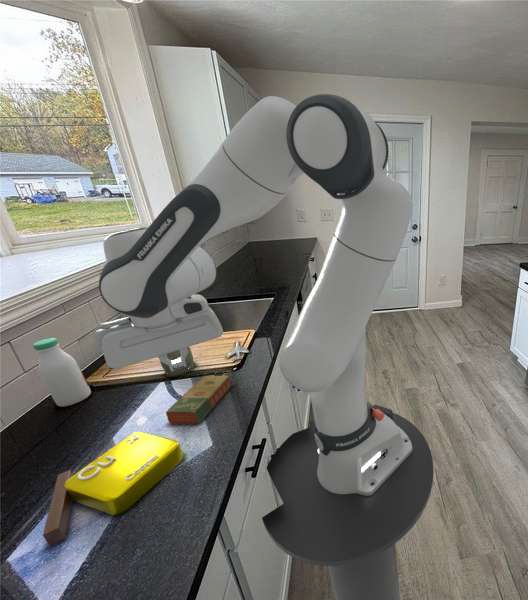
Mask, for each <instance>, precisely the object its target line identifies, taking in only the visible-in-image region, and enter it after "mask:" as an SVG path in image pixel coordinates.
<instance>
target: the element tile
mask: <svg viewBox="0 0 528 600" xmlns="http://www.w3.org/2000/svg"><path fill="white" fill-rule="evenodd" d="M183 459H184V452H183V450H182V447H181V445H180V443H179V441H178V440H175V439H171V438H168V437H163V436H159V435H155V434H153V433H152V434H150V433H148V432H143V431H136V432H133V433H131V434H129V435H128V436H126V437H125V438H123V439H122V440H121V441H120V442H117V444H115V445H114V446H112V447H111V448H109V449H108V450H106V451H105V452H104V453H102V454H100V455H99V456H98V457H97V458H95V459H94V460H92V461H91V462H89V463H88V464H86V465H85V466H83V468H82V469H80V470H79V471H77V472H76V473H73V474H74V475H73V476H72V477H70V478H69V479H68V480H67V481H66V483H65V484H64V486H65V488H66V490H67V492H68V493H69V495H70V496H71V498H72V500H73V501H72V502H75V503H79V504H81V505H84V506H86V507H89V508H92V509H94V510H98V511H100V512H103V513H105V514H109V515H112V516H117V515H120V514H122V513H124V512H126V511H127V510H129V509H130V508H131V507H133V506H134V505H135V504H136V503H137V502H138V501H139V500H140V499H141V498H143V496H144V495H146V493H148V492H149V491H151V489H152V488H153V487H155V486H156V485H157V484H158V483H159V481H161V480H163V478H165V476H167V475H168V474H169V473H170V472H171V471H172V470H173V469H174V468H175V467H176V466H177V465H179V464H180V463H181V462H182V460H183Z"/></svg>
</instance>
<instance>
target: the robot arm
mask: <svg viewBox="0 0 528 600" xmlns="http://www.w3.org/2000/svg"><path fill="white" fill-rule="evenodd" d="M388 160H389V143H388V140H387V136H386V134H385V132H384V130H383V128H381V126H380V125H379V124H378V123H377V122H376V121H375V119H374V118H373V117H372V116H371V115H370V114H369V113H368V112H367V111H366V110H364V109H362V108H361V107H360V106H358V105H356V104H354V103H352V102H351V101H350V100H348V99H347V98H345V97H342V96H340V95H336V94H332V93H331V94H330V93H319V94H318V93H317V94H315V95H311V96H308V97H306V98H304V99H303V100H302V101H301V102H299V103H298V104H297V105H296V104H295V103H293V102H291V101H289V100H288V99H285V98H283V97H280V96H276V95H269V96H266V97H263V98H261V99H260V100H259V101H257V102H256V104H254V105H253V106H252V107H251V108H250V109H249V110H248V111H247V112H246V113H245V114H244V115H243V116H242V117H241V118H240V119H239V120H238V122H236V123H235V126H234V127H233V128H232V129H231V130H230V131H229V133H228V134H227V136H226V137H225V139H224V140H223V142H222V143H221V144H220V146H219V147H218V149H217V150H216V151H215V153H214V154H213V155H212V156H211V158H210V159H209V161H208V162H207V163H206V165H205V166H204V167H203V168H202V169H201V171H200V172H199V173H198V174H197V175H196V176H195V177H194V178H193V179H192V180H191V181H190V182H189V183H188V184H187V185H186V186H185V187H184V188H182V189H181V190H180V192H179V193H178V194H177V195H176V196H174V197H173V198H172V200H170V201H169V202H168V203H167V205H166V206H165V207H164V208H163V209H162V210H161V212H160V213H159V214H158V215H157V217H155V219H154V220H153V221H152V223H150V225H149V226H148V227H135V228H130V229H127V230H124V231H123V230H122V231H118V232H117V231H116V232H115V233H112V234H109V235H107V236H106V237H105V238H104V239H103V251H104V257H105V260H106V263H105V264H104V266H103V267H102V270H101V272H100V275H99V281H98V289H99V293H100V296H101V298H102V299H103V301H104V302H105V303H106V304H107V306H109V308H111V309H113V310H114V311H116V312H118V313H121V314H123V315H126V316H127V317H126V316H125V317H123V318H119V319H116V320H113V321H107V322H103V323H100V324H99V326H97V327H96V328H94V329H93V331H92V335H91V337H92V338H93V340H94V343H95V344H96V345H97V346H99V347H102V352H103V353H102V354H103V356H104V360H105V363H106V365H107V367H108V368H110V369H112V370H120V369H123V368H126V367H129V366H133V365H137V364H139V363H142V362H145V361H149V360H151V359H154V358H158V360H159V362H160V361H161V362H163V363H165V364H166V365H169V367H170V370H171V372H172V371H175V370H177V369H180V368H183V367H186V366H187V365H186V362H185V359H186V356H187V353H188V351H187V347H189V348H190V347H192V346H196V345H199V344H202V343H203V344H204V343H205V342H209V341H213V340H215V339H219V338H220V337H221V338H222V335H224V330H223V327H222V324H221V321H220V320H219V318H218V316H217V315H216V313H215V312H214V310H213V309H212V308H211V307H210V306H209V304H208V300H207V298H205V296H203V295H202V294H198V293H200V292H202V291H204V290H206V289H207V288H209V287H210V286H212V285H213V284H214V283H215V282H216V279H217V275H218V274H217V273H218V271H217V265H216V262H215V260H214V259H213V257H212V255H211V254H210V253H209V251H207V250H206V249H205V248H204V247H202V246H201V245H203V244H204V243H205V242H207V241H208V240H210V239H211V238H213V237H215V236H217V235H219V234H221V233H223V232H226V231H228V230H231V229H233V228H236V227H239V226H242V225H245V224H248V223H251V222H253V221H256V220H259V219H260V218H262V217H263V216H265V215H266V214H267V213H269V212H270V211H271V210H272V209H273V208H274V207H276V206H277V205H278V204H279V203H280V202H281V201H282V199H283V198H284V197H285V196H286V195H287V193H288V192H289V191H290V190H291V188H292V187H293V186H294V185H295V183H296V182H297V181H298V180H299V178H301V177H302V176H303V175H304V174H305V175H306V176H307V177H308V178H309V179H310V180H312V181H313V182H315V183H316V184H317V185H319V186H320V187H321V188H322V189H323V190H324V191H326V193H327V194H328V195H330V196H331V197H332V198H333V199H335V200H341V211H340V215H339V218H338V221H337V222H336V223H337V224H336V226H335V228H334V232H333V234H332V238H331V240H330V243H329V246H328V249H327V252H326V254H325V257H324V261H323V264H322V266H321V269H320V272H319V274H318V276H317V278H316V281H315V283H314V285H313V287H312V288H311V290H310V292H309V294H308V297H307V299H306V301H305V302H304V305H303V307H302V309H301V310H300V313H299V315H298V316H297V320H296V322H295V324H294V326H293V328H292V331H291V333H290V335H289V337H288V339H287V341H286V343H285V345H284V347H283V349H282V351H281V353H280V356H279V362H278V365H279V370H280V372H281V374H282V376H283V378H284V379H285V380H286V381H287V383H289V384H290V386H292V387H294V388H295V389H297V390H300V391H302V392H306V393H309V398H310V404H311V407H312V413H313V420H314V431H315V439H316V443H317V446H318V448H319V449H318V453H319V463H318V468H317V477H318V480H319V482H320V484H321V485H322V486H323V487H324V488H325V489H326V490H328V491H330V492H332V493H336V494H352V493H358V494H361V495H365V496H370V495H372V494H373V493H374V492H375V491H376V490H377V489H378V488H379V487H380V486H381V485H382V484H383V483H384V482H385V481H386V479H387V478H388V477H389V476H390V475H391V474H392V473H393V472H394V471H395V470H396V469H397V468H398V467H399V465H400V464H401V463H402V462H403V461H404V460H405V459H406V458H407V457H408V456H409V455H410V454H411V452H412V451H413V449H412V444H411V441H410V439H409V437H408V436H407V435H406V433H405V432H404V431H403V430H402V429H401V428H399V427H398V426H397V425H396V424H395V423H394V422H393V420H392V419H393V413H394V412H393V409H390V408H387V407H384V406H381V405H378V404H374V405H373V404H372V403H371V402H369V401H367V393H366V384H365V383H366V381H365V380H366V378H365V377H366V375H365V374H366V356H367V355H366V354H367V352H366V351H367V334H366V333H367V325H368V322H369V321H370V318H371V316H372V314H373V311H374V310H375V307H376V305H377V303H378V301H379V299H380V296H381V294H382V292H383V290H384V288H385V285H386V284H387V281H388V278H389V276H390V274H391V272H392V270H393V267H394V265H395V264H396V261H397V258H398V256H399V254H400V251H401V249H402V246H403V244H404V241H405V238H406V235H407V231H408V229H409V226H410V225H409V224H410V221H411V216H412V213H413V206H414V205H413V198H412V196H411V194H410V192H409V191H408V189H407V188H406V187H405V186H404V185H403V184H402V183H400V182H399V181H398V180H396V179H394V178H392V177H390V176H389V175H388V174H386V172H385V171H384V170H385V169H386V166H387V163H388ZM177 350H179V351H180V354H181V356H180V358H179V359H176V360H173V361H171V360H170V359H168V358H167V354H168V353H171V352H174V351H177ZM372 484H374V485H373V486H372Z"/></svg>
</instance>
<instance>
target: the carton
mask: <svg viewBox="0 0 528 600" xmlns="http://www.w3.org/2000/svg"><path fill="white" fill-rule="evenodd" d="M232 386H233V385H232V381H231V380H230V376H229V375H203V376H202V377H200V379H198V381H197V382H195V384H193V386H192V387H190V388H189V389H188V390H187V391H186V392H185V393H184V394H183V395H182V396H181V397H180V398H179V399H178V400H177V401H176V402H175V403H173V405H171V407H169V408H168V409H167V410H166V411H165V414H166V418H167V421H168V423H169V424H173V425H174V424H175V425H177V424H178V425H181V424H182V425H183V424H186V425H187V424H190V425H192V424H193V425H195V424H196V425H197V424H200V423H201V422H203V420H204V419H205V418H206V417H207V415H208V414H209V413H210V412H211V411H212V410H213V409H214V407H215V406H216V405H217V404H218V402H219V401H220V400H221V399H222V398H223V397H224V395H226V393H227V392H228V391H229V390H230V389H231V387H232Z"/></svg>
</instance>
